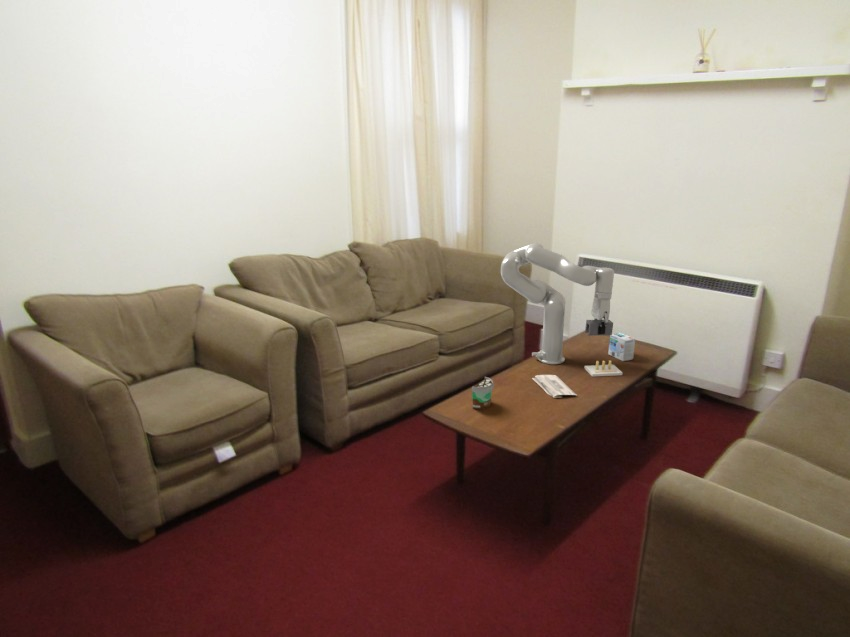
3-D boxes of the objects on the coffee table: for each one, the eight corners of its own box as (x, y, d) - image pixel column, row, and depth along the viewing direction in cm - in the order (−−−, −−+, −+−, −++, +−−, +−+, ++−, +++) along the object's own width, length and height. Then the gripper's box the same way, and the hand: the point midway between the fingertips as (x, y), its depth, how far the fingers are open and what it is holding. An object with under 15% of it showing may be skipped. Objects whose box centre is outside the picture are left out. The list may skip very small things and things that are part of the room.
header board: (592, 376, 255) (593, 365, 254) (584, 368, 265) (585, 357, 263) (622, 375, 257) (623, 364, 255) (613, 366, 266) (614, 356, 265)
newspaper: (530, 379, 255) (531, 374, 254) (556, 380, 257) (556, 374, 256) (550, 401, 233) (551, 395, 232) (577, 401, 236) (578, 395, 235)
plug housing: (589, 335, 262) (590, 323, 261) (585, 332, 267) (586, 319, 265) (611, 335, 264) (613, 322, 262) (607, 331, 268) (608, 319, 266)
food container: (485, 413, 222) (485, 390, 219) (471, 409, 225) (471, 386, 222) (498, 401, 232) (499, 379, 229) (484, 398, 235) (485, 376, 232)
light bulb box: (607, 354, 282) (609, 333, 278) (618, 352, 284) (620, 332, 281) (623, 361, 272) (625, 340, 269) (633, 359, 275) (636, 338, 272)
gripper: (588, 290, 267) (584, 326, 273) (602, 299, 251) (598, 338, 257) (603, 289, 268) (599, 326, 274) (618, 299, 252) (614, 338, 257)
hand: (598, 331), depth 265 cm, fingers closed on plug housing, 5 cm apart
